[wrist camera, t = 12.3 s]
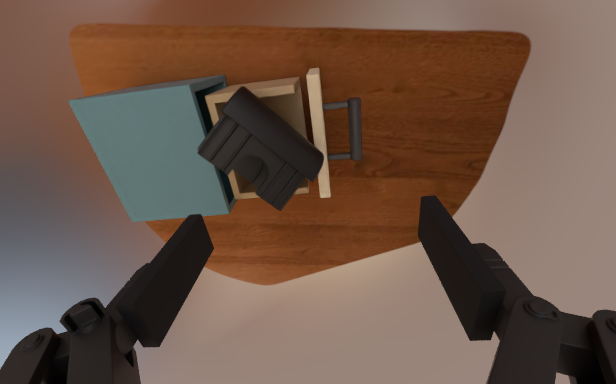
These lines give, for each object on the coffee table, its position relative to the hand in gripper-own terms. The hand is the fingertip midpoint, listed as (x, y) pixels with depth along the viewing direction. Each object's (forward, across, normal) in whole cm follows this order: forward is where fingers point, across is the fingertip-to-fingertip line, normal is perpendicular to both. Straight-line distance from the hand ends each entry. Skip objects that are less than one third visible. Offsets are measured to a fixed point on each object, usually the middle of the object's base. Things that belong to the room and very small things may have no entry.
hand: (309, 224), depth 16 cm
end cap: (+15, -6, 0) cm, 16 cm away
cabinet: (+23, -18, +1) cm, 29 cm away
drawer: (+23, -3, 0) cm, 23 cm away
